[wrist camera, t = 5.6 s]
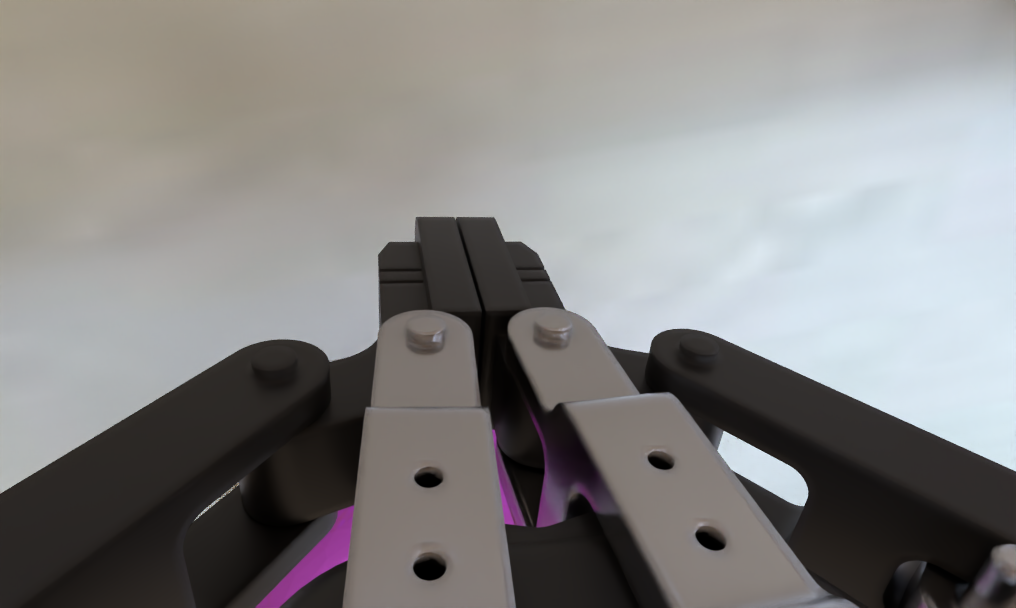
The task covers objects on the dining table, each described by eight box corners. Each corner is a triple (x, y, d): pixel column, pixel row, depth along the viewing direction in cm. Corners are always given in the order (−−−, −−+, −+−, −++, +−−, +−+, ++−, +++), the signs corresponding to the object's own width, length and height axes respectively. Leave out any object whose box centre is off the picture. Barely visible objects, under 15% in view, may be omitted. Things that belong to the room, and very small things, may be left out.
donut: (602, 504, 25) (647, 614, 21) (380, 630, 26) (384, 756, 22) (450, 319, 19) (474, 423, 15) (178, 490, 21) (137, 626, 17)
